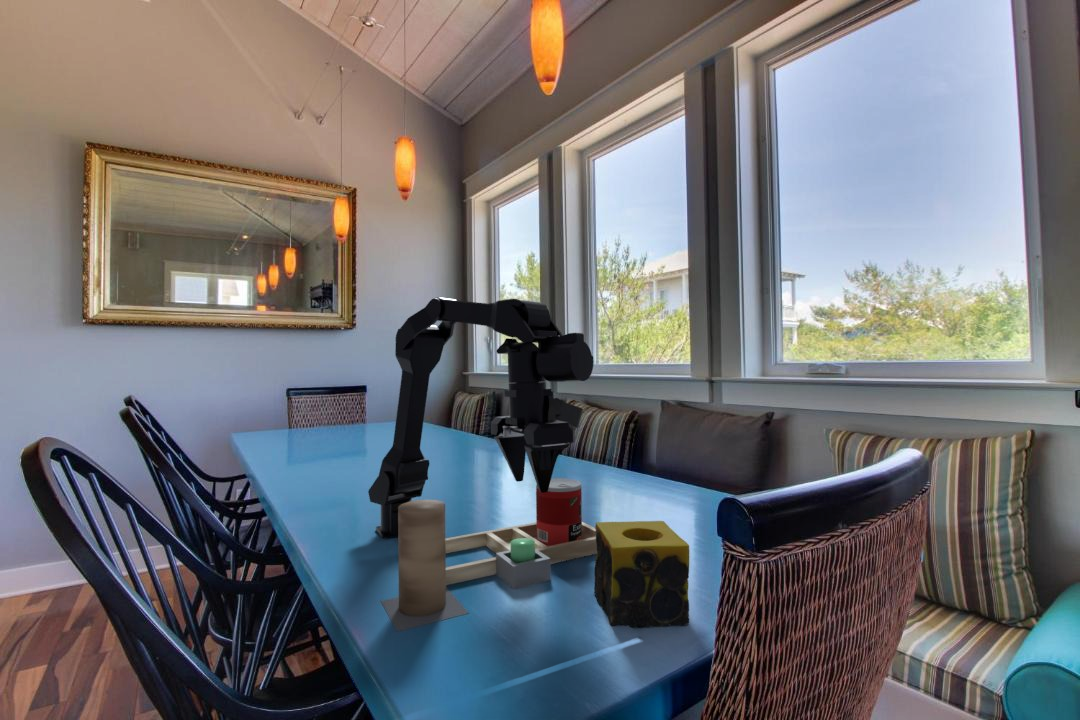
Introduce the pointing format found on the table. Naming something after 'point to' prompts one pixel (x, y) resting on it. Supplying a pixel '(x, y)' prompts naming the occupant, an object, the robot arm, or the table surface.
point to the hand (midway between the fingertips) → (531, 486)
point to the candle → (641, 574)
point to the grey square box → (523, 569)
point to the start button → (522, 550)
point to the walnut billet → (422, 557)
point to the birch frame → (502, 542)
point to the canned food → (559, 512)
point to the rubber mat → (407, 622)
